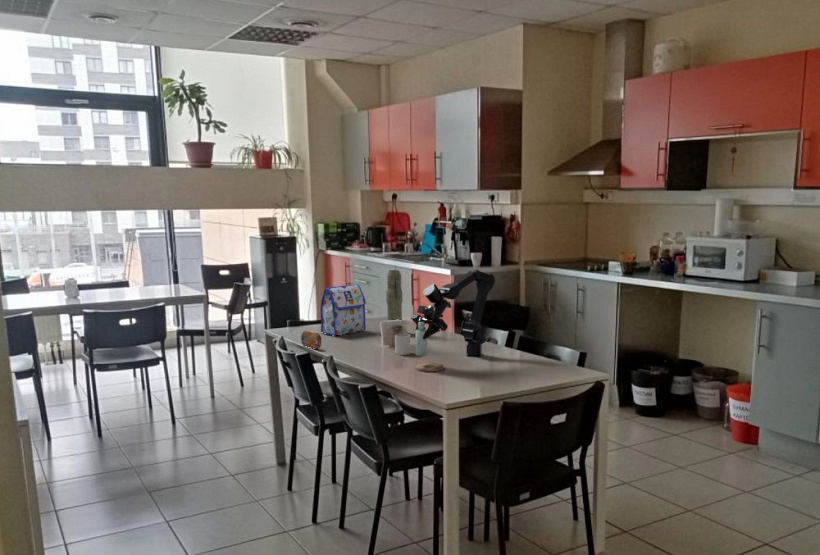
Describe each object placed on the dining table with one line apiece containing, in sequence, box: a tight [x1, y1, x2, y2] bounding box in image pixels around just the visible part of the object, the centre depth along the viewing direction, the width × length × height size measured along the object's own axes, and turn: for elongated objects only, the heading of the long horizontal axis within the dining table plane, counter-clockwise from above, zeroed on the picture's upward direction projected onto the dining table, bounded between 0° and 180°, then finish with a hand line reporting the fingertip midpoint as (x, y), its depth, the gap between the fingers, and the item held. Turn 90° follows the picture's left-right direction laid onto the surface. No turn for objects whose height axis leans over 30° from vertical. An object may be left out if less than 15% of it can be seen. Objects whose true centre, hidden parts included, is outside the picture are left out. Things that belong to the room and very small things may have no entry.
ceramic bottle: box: [414, 322, 429, 357], centre depth 282 cm, size 5×5×14 cm
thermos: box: [385, 269, 403, 321], centre depth 359 cm, size 9×12×35 cm
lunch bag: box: [320, 283, 367, 337], centre depth 362 cm, size 23×17×27 cm
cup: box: [394, 333, 411, 356], centre depth 311 cm, size 7×10×9 cm
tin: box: [300, 330, 322, 350], centre depth 325 cm, size 15×3×8 cm, turn 42°
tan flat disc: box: [415, 362, 444, 372], centre depth 281 cm, size 12×12×1 cm
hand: (419, 337), depth 281 cm, fingers closed on ceramic bottle, 5 cm apart
